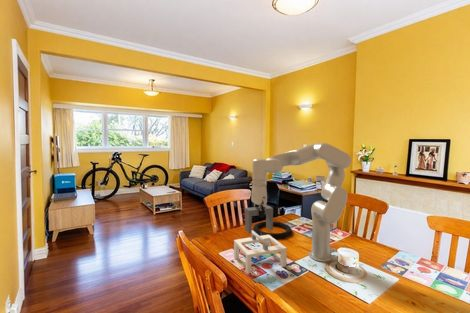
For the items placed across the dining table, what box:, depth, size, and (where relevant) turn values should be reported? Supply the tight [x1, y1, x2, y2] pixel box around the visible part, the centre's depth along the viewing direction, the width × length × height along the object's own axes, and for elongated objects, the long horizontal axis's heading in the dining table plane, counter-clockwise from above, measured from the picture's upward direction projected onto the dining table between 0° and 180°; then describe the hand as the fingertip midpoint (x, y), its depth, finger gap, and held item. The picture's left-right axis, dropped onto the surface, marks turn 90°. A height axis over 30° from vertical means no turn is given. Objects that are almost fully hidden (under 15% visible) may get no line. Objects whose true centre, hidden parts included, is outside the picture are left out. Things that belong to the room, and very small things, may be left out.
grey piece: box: [244, 205, 274, 234], centre depth 132 cm, size 14×5×12 cm, turn 111°
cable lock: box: [252, 221, 293, 240], centre depth 176 cm, size 28×4×30 cm
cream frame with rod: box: [233, 230, 287, 275], centre depth 133 cm, size 22×19×14 cm
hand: (259, 215), depth 132 cm, fingers closed on grey piece, 5 cm apart
